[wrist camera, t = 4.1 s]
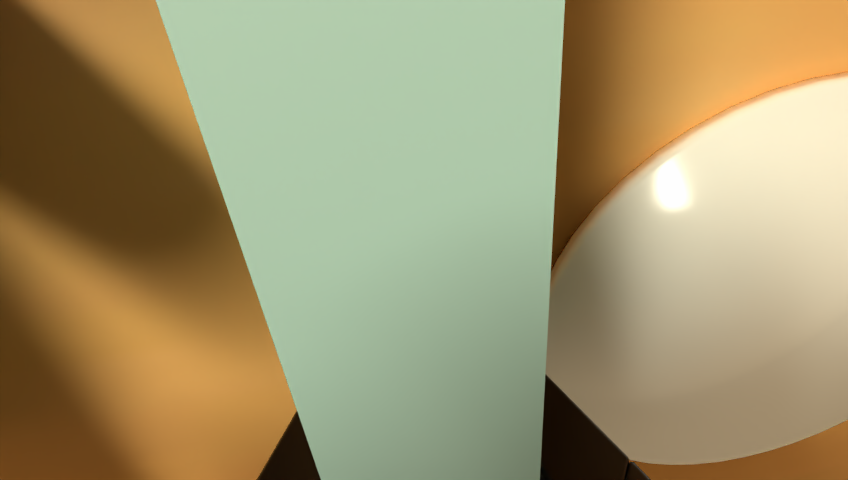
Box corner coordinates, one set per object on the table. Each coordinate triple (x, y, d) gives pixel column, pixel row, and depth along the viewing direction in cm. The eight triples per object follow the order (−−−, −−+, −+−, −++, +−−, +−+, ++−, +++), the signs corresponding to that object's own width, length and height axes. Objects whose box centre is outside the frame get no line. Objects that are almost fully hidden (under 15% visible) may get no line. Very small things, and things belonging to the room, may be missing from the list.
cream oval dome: (890, 422, 14) (902, 435, 14) (525, 474, 14) (529, 489, 14) (1141, 38, 9) (1172, 44, 9) (544, 105, 8) (552, 114, 8)
